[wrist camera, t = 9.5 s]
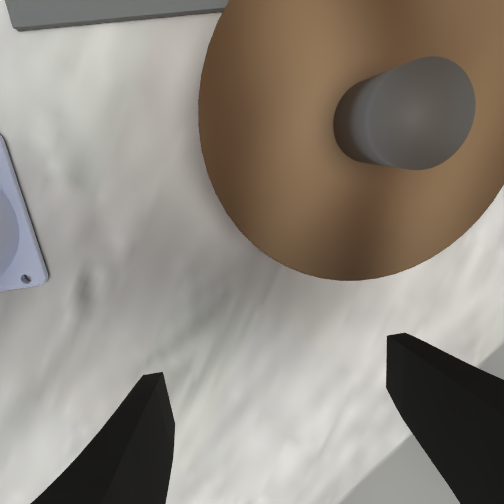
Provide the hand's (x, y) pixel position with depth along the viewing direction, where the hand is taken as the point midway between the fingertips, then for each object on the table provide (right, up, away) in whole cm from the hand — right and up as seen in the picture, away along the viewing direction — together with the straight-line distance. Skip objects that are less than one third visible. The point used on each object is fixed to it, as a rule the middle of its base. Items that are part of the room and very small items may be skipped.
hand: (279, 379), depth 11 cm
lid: (+4, +9, +3) cm, 10 cm away
